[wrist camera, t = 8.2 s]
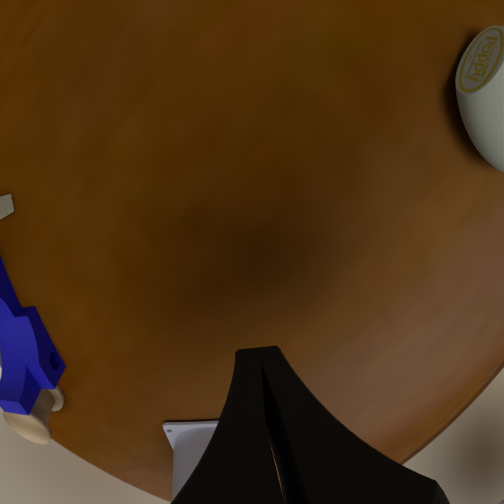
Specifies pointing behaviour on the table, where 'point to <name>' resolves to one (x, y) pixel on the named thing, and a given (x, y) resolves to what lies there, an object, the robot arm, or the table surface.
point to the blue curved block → (24, 353)
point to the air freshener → (484, 94)
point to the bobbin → (37, 416)
